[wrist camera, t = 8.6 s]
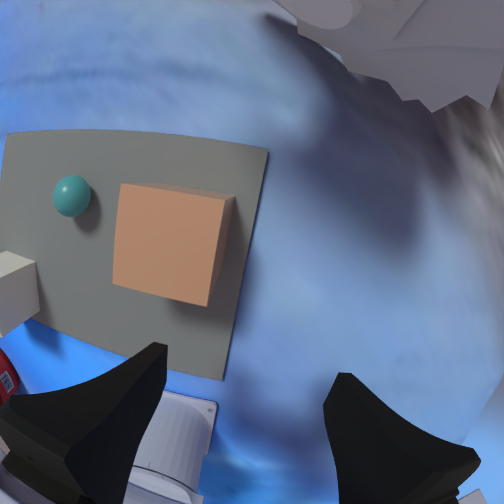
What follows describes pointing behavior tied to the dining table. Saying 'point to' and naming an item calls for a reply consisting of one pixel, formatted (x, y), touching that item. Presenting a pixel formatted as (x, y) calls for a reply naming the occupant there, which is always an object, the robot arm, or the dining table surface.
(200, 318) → the mat
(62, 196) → the teal ball
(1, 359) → the canned food
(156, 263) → the clay colored cube
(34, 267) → the pale gray cube
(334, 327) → the dining table surface
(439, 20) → the white bladed rotor
